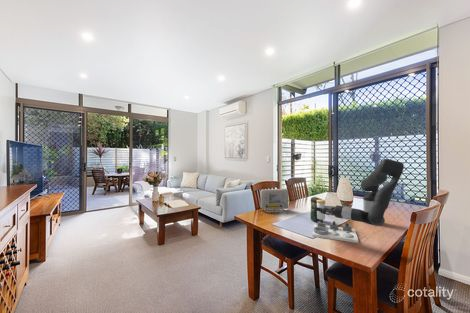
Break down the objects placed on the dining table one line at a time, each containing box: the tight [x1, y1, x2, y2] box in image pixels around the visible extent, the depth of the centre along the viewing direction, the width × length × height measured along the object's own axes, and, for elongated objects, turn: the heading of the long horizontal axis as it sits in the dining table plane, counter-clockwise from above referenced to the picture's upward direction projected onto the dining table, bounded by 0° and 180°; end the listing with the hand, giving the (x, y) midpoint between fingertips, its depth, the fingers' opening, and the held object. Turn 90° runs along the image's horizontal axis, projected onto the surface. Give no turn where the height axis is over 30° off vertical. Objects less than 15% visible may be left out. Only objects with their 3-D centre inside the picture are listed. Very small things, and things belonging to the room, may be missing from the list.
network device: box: [260, 188, 289, 213], centre depth 192 cm, size 26×9×20 cm, turn 94°
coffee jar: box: [310, 196, 323, 223], centre depth 162 cm, size 10×8×19 cm
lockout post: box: [317, 199, 326, 221], centre depth 135 cm, size 5×5×12 cm
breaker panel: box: [311, 220, 359, 244], centre depth 136 cm, size 20×26×6 cm
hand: (317, 207), depth 137 cm, fingers closed on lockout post, 5 cm apart
